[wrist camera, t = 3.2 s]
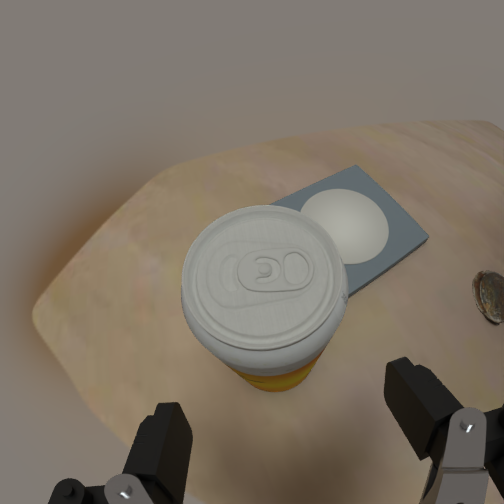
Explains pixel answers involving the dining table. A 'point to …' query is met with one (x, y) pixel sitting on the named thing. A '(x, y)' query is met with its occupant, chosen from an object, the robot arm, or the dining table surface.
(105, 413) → the dining table surface
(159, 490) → the robot arm
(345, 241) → the board
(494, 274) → the decorative disc
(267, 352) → the beer can
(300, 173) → the dining table surface
